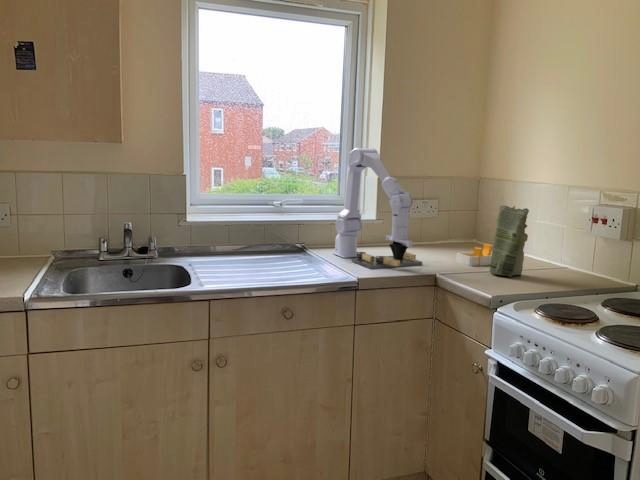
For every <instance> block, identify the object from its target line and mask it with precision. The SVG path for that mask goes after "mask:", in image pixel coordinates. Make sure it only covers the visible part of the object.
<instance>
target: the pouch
mask: <svg viewBox="0 0 640 480" xmlns="http://www.w3.org/2000/svg"><path fill="white" fill-rule="evenodd" d="M529 212H530V210H529V209H528V208H527V207H525V208H522V209H521V208H516V205H514V206H513V207H510V206H509V205H501V206H500V207H499V208H498V213H497V217H496V221H495V235H494V237H493V245H492V258H491V265H489V266H490V268H489V273H490V274H492V275H495V276H502V277H503V276H504V277H510V278H512V277H513V276H519V277H521V276H522V272H523V265H524V261H525V251H524V248H525V244H526V242H527V241H528V236H529V235H528V234H527V233H526V228H527V227H528V225H527V224H526V223H527V219H528V214H529Z"/></svg>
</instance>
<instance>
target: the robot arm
mask: <svg viewBox="0 0 640 480" xmlns="http://www.w3.org/2000/svg"><path fill="white" fill-rule="evenodd" d="M366 168H371V170H372V171H373V172H374V174H375V175H376V176H377V177H378V179H379V180H380V181H381V188H382V189H383V191H384V192H385V194H386V196H387V197H388V199H389V205H390V208H391V213H392V216H391V217H392V221H391V234H390V235H389V234H388V235H385V241H387V242H391V243H389V245H388V246H389V247H390V249H391V253H392V256H393V257H394V259H398V260H400V263H401V262H402V259H403V256H404V253H405V251H407V249H408V248H412V247H414V243H413V242H414V241H412V240H411V239H409V238H408V230H409V229H408V227H409V214H410V213H409V212H410V208H411V207H413V200H414V199H413V197H412V194H411V193H409V192H406V191H405V190H404V189H403V188H402V187H401V184H400V183H398V181H399V180H398V179H397V178H395V177H393V176H391V175H390V174H389V173H388V171H387V169H386V167H385V165H384V164H383V163H382V161H381V155H380V153H379V152H378V150H377V149H376V148H365V147H364V148H363V147H362V148H361V147H360V148H359V147H354V148H353V149H352V150H350V151H349V155H348V163H347V169H346V179H345V180H346V182H345V190H344V202H343V203H344V204H343V210H341V211H340V212H339V213H338V214H337V218H336V221H335V223H334V224H335V225H334V226H335V227H334V228H335V231H336V232H337V235H336V236H335V238H334V239H335V240H334V252H333V253H332V254H333V255H335V256H338V257H340V258H347V259H348V258H356V254H357V252H358V250H357V248H358V235H359V233H360V232H361V230H362V228H363V222H362V215H361V213H360V212H359V211H358V207H359V197H360V196H359V195H360V189H361V188H360V186H361V185H360V184H361V177H362V172H363V171H364V170H366Z"/></svg>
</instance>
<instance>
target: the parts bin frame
mask: <svg viewBox="0 0 640 480" xmlns="http://www.w3.org/2000/svg"><path fill="white" fill-rule="evenodd" d="M492 251H493V250H492ZM492 251H491V255H489V256H480V265H478V263H479V257H478V256H475V257H473V253H474V251H467V252H456V258H455V259H456V260H455V262H456V263H458V264H462V265H465V266H468V267H478V266H479V267H480V266H491V258H492Z"/></svg>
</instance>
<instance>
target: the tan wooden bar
mask: <svg viewBox="0 0 640 480" xmlns="http://www.w3.org/2000/svg"><path fill="white" fill-rule="evenodd" d="M374 257H375V256H374V255H372V254H369V253H367V252H366V251H357V253H356V257H355V258H357V259H362V260H365V261H368V262H374Z"/></svg>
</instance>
